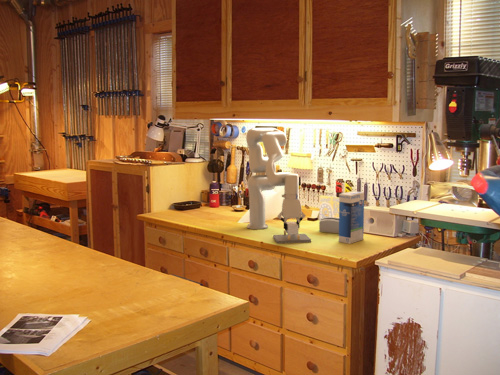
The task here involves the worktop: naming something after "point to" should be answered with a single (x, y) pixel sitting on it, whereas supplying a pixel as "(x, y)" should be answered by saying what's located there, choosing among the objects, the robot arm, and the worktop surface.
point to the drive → (292, 228)
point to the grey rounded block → (329, 224)
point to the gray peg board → (291, 238)
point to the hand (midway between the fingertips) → (291, 229)
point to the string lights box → (351, 217)
